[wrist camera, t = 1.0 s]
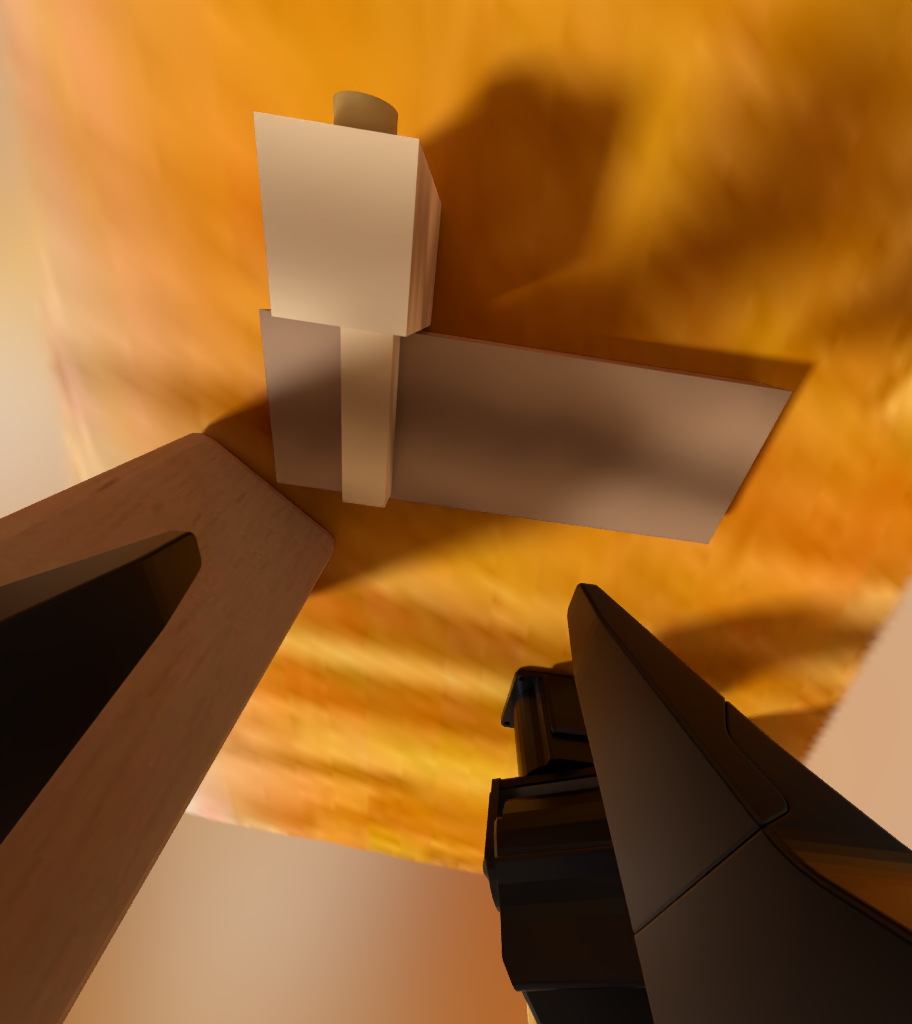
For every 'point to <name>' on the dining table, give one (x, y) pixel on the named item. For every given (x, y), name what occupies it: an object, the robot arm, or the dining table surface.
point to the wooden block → (143, 699)
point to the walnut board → (528, 430)
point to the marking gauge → (352, 258)
